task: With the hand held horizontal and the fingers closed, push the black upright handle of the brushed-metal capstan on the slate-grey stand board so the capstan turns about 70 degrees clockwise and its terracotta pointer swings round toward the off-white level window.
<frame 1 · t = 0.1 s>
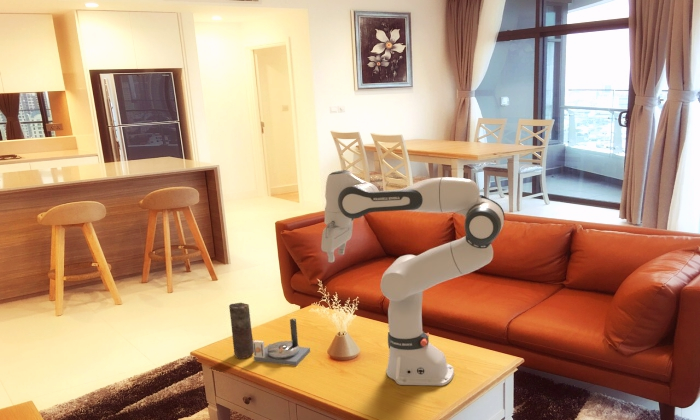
hand: (336, 258, 194), 39 cm above the table, tool pointing down, fingers open, 8 cm apart
stand: (282, 356, 211), on the table
capstan: (282, 337, 210), point 8 cm above the table, hinge at 0.0°
candle: (244, 355, 215), on the table
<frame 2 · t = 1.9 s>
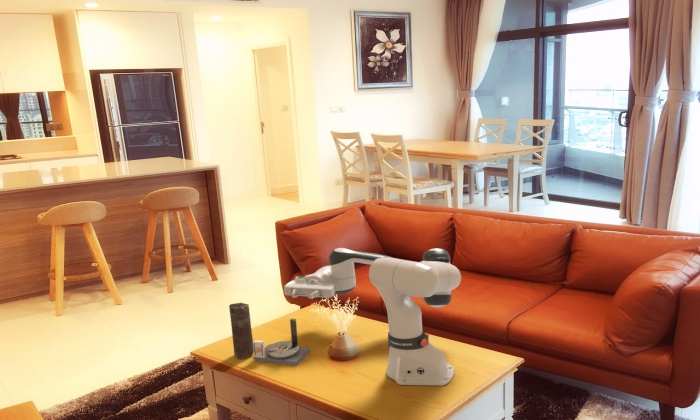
hand: (301, 296, 215), 20 cm above the table, tool horizontal, fingers open, 5 cm apart
nothing on the table moved.
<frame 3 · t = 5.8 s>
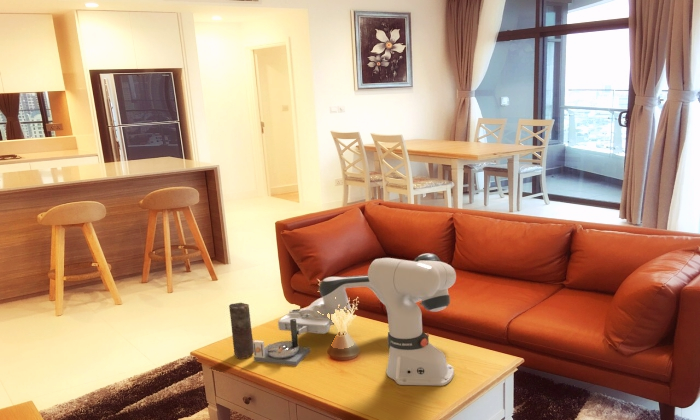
hand: (296, 332, 211), 8 cm above the table, tool horizontal, fingers closed, pressing on capstan
capstan: (282, 337, 210), point 8 cm above the table, hinge at -4.9°, touching gripper
everything else where it was.
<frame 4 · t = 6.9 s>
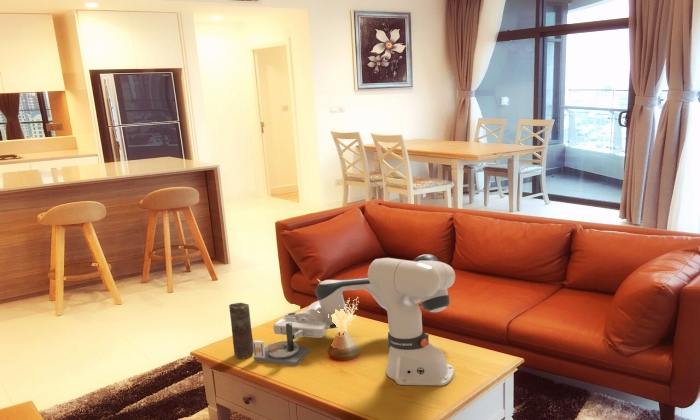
hand: (291, 336, 207), 8 cm above the table, tool horizontal, fingers closed, pressing on capstan
capstan: (282, 337, 210), point 8 cm above the table, hinge at -58.8°, touching gripper
everything else where it was.
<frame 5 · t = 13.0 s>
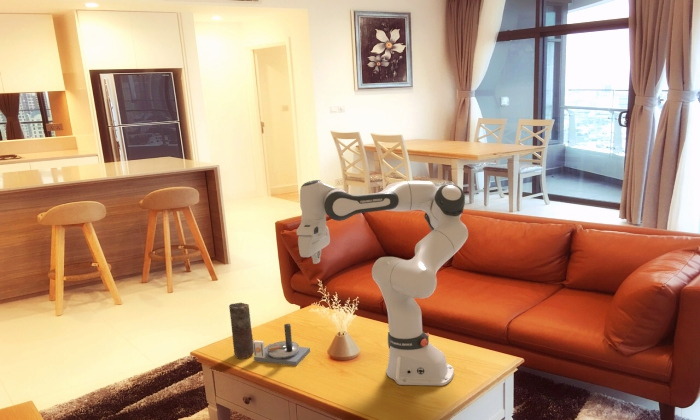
hand: (316, 262, 208), 34 cm above the table, tool pointing down, fingers closed
capstan: (282, 337, 210), point 8 cm above the table, hinge at -66.9°
everything else where it was.
at the end: capstan at -67° (first picture: +0°); capstan touching nothing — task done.
